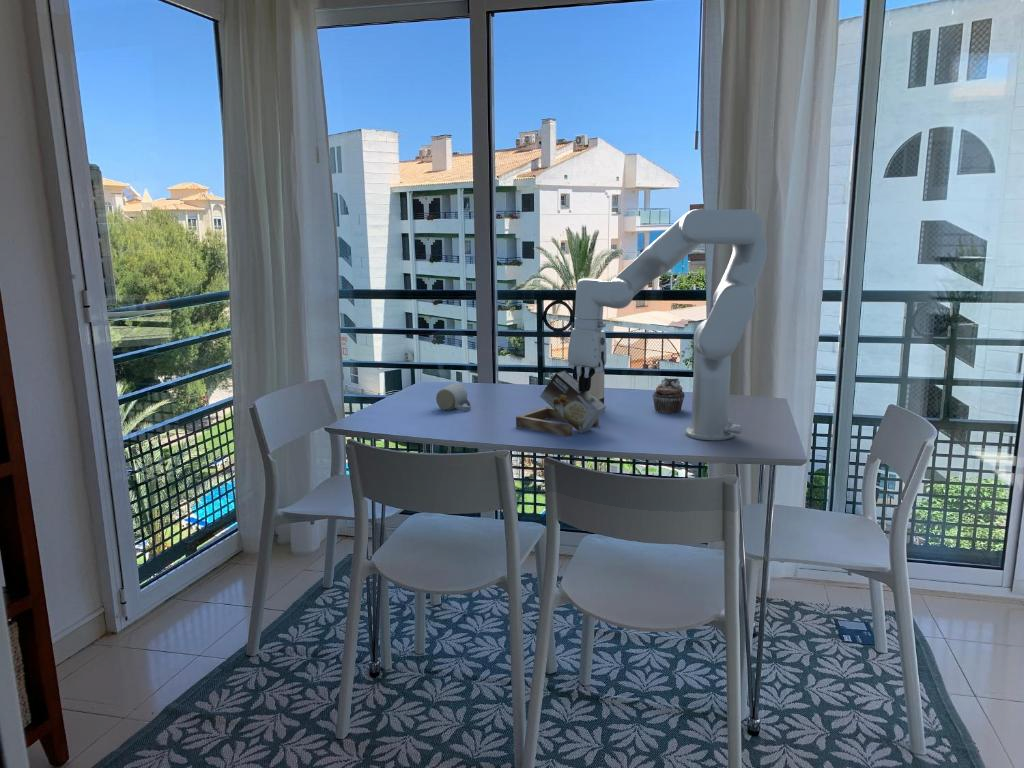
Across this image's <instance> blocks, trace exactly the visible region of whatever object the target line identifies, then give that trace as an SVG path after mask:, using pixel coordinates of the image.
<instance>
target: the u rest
mask: <svg viewBox="0 0 1024 768" xmlns="http://www.w3.org/2000/svg"><path fill="white" fill-rule="evenodd" d="M546 419H552V421H551V420H546ZM553 420H556V421H553ZM557 421H563V422H567V423H562V422H557ZM599 425H600V417H599V418H598V419H597V420H596V422H595V423H594V424H593V425H592V427H597V426H599ZM515 427H516V428H519V427H520V429H525V428H526V430H530V429H531V430H530V431H535V430H536V431H537V432H540V433H546V432H547V434H552V435H558V436H562V435H563V437H567V436H570V437H573V426H572V425H571V424H570V423H569V422H568V421H566V420H565V419H564V418H563V417H562V416H561V415H560V414H559V413H558V412H557V411H555V410H554V409H553V408H552V407H551V406H550V407H549V406H545V407H541V408H539V409H536V410H532V411H530V412H526V413H524V414H520V415H518V416H515Z"/></svg>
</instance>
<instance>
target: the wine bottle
mask: <svg viewBox="0 0 1024 768" xmlns="http://www.w3.org/2000/svg"><path fill="white" fill-rule="evenodd" d="M596 368H597V367H596ZM603 370H604V371H603V372H599V373H595V374H594V375H593V377H591V387H590V390H589V392H590V393H592V394H593V395H594V396H595V397H596V398H597V399H598V400H599V401H601V402H602V403H603V404H604V405H605V365H604V366H603ZM576 377H577V379H576V380H577V381H578V382H579V377H578V376H577V375H576Z"/></svg>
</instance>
